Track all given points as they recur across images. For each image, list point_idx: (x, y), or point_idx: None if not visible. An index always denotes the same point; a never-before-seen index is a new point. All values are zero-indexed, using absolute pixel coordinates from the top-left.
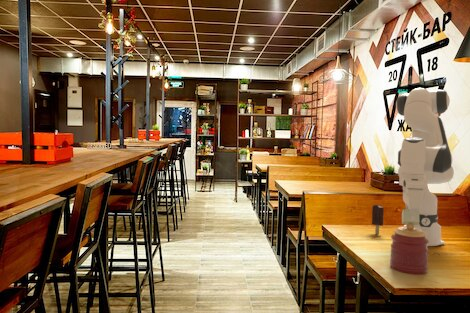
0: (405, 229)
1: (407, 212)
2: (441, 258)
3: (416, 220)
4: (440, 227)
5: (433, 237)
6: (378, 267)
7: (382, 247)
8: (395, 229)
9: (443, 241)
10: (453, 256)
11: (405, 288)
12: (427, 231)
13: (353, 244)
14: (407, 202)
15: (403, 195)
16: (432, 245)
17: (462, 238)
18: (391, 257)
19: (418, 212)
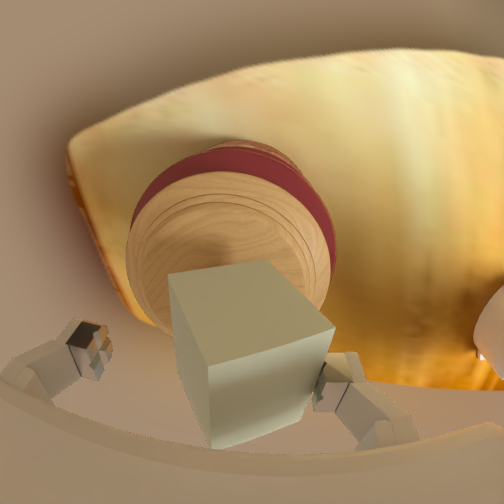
0: (202, 258)
1: (197, 371)
2: (378, 335)
3: (179, 369)
4: (501, 378)
5: (487, 348)
6: (236, 95)
7: (480, 180)
8: (259, 191)
9: (483, 359)
10: (392, 363)
11: (68, 167)
12: (501, 346)
13: (493, 84)
14: (11, 436)
15: (488, 489)
16: (474, 333)
17: (491, 386)
18: (231, 144)
19: (206, 436)
